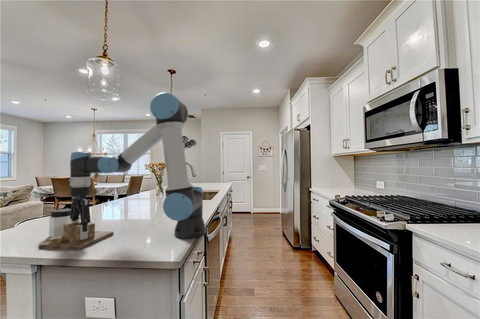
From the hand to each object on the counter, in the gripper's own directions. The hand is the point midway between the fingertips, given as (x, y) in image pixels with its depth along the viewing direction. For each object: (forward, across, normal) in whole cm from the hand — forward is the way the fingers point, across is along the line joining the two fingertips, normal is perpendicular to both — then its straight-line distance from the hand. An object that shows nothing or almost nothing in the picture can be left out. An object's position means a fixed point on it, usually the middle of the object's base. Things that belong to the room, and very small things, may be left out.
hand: (79, 236), depth 99 cm
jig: (+2, 0, 0) cm, 2 cm away
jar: (+2, -17, -2) cm, 18 cm away
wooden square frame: (0, 0, -3) cm, 3 cm away
